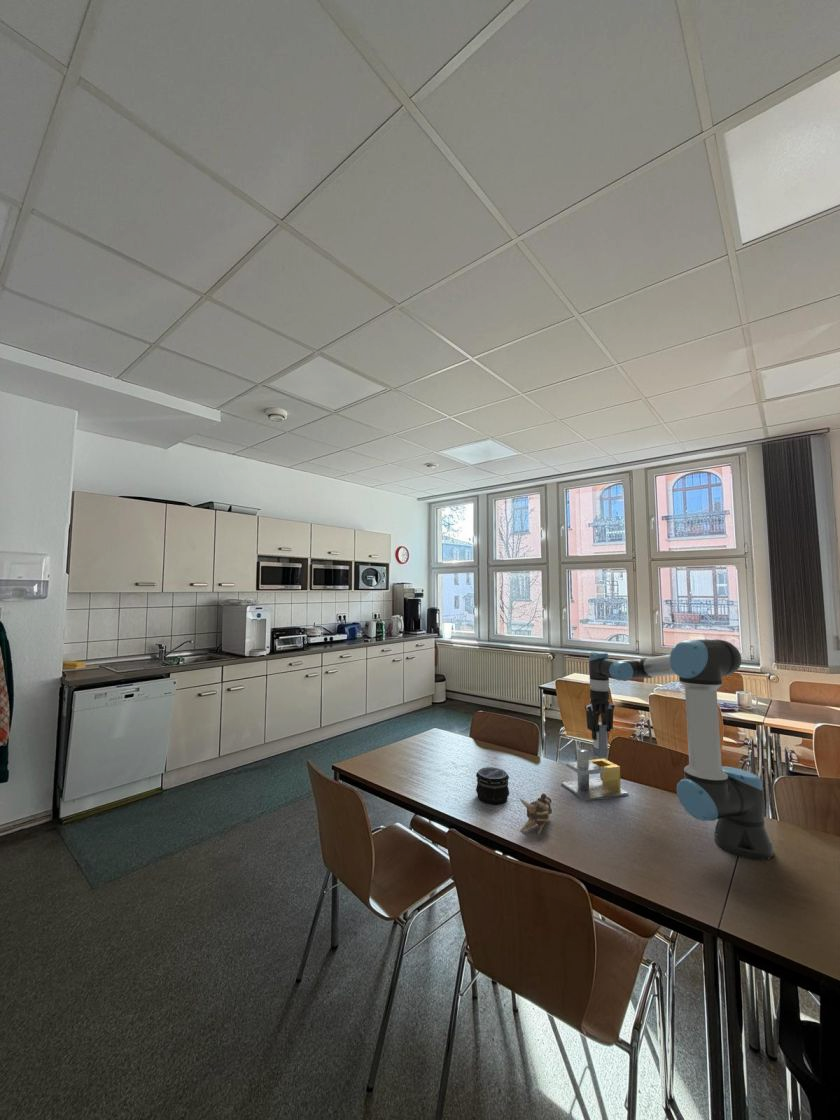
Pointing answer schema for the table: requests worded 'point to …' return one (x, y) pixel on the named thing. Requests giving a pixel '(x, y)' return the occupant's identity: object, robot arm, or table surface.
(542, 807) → the toy
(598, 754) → the pin
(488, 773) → the container
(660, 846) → the table surface
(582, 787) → the grey frame
